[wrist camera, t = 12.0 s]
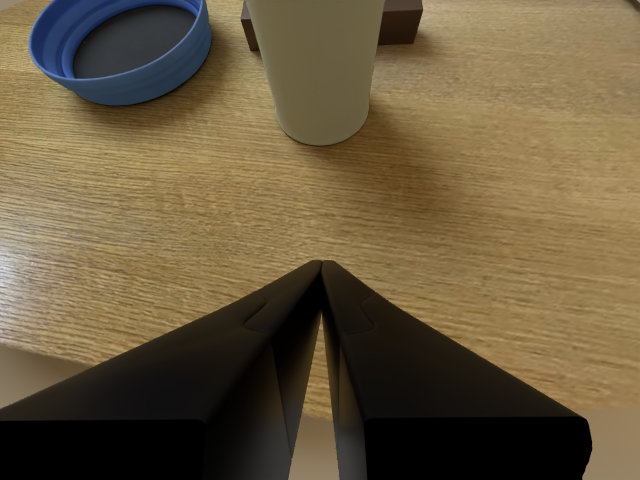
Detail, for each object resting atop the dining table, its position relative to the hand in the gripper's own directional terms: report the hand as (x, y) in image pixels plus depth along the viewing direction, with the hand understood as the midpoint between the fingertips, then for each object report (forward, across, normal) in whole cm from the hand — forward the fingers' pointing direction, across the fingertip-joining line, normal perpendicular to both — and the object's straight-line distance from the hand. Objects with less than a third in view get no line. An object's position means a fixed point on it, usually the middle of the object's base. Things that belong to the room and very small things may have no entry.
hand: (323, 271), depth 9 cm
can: (+20, -1, +6) cm, 21 cm away
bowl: (+26, -22, +13) cm, 36 cm away
